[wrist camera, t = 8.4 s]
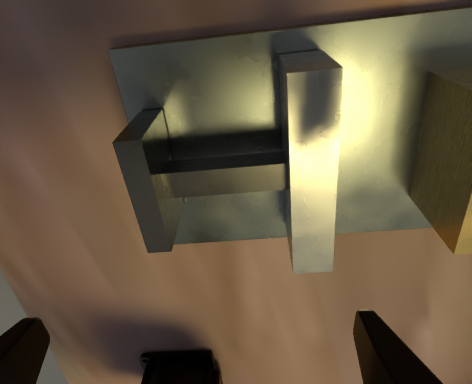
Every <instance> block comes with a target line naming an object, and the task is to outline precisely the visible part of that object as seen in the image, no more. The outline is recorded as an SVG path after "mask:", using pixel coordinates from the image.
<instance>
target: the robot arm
mask: <svg viewBox="0 0 472 384" xmlns="http://www.w3.org/2000/svg"><path fill="white" fill-rule="evenodd" d="M353 335H354V341H355V346H356V350H357V355H358V360H359V365H360V369H361V374H362V379H363V384H443V383H442V382H441V381H440V380H439V379H438V378H437V377H436V376H435V375H434V374H433V373H432V371H431V370H430V369H429V368H428V367H427V366H426V365H425V364H424V363H423V362H422V361H421V360H420V359H419V358H418V357H417V356H416V355H415V354H414V353H413V352H412V351H411V349H410V348H409V347H408V346H407V345H406V344H405V343H404V342H403V341H402V340H401V339H400V338H399V337H398V336H397V335H396V334H395V333H394V332H393V331H392V330H391V329H390V328H389V326H388V325H387V324H386V323H385V322H384V321H383V320H382V319H381V318H380V317H379V316H378V315H377V314H376V313H375V312H374V311H372V310H358V311H357V312H356V316H355V322H354V328H353ZM49 343H50V335H49V333H48V331H47V329H46V328H45V326H44V324H43V322H42V320H41V319H40V318H37V317H33V318H24V319H22V320H20V321H19V322H18V323H17V324H15V325H14V326H13V327H11V328H10V329H9V330H7V331H6V332H5V333H4V334H2V335H1V336H0V384H36V382H37V379H38V376H39V373H40V370H41V367H42V364H43V361H44V358H45V355H46V352H47V349H48V346H49ZM140 363H141V365H142V368H143V370H144V374H143V378H142V382H141V384H223V382H222V378H221V373H220V371H219V370H218V369H216V366H215V362H214V357H213V354H212V353H211V352H209V351H194V352H167V353H144V354H142V355H141V357H140Z"/></svg>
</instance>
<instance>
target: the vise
mask: <svg viewBox="0 0 472 384" xmlns="http://www.w3.org/2000/svg"><path fill="white" fill-rule="evenodd" d="M316 50H323V51H324V52H326V53H327V54H328V55H329V56H330V57H331V58H333V59H334V60H335V61H336V62H337V63H339V64H340V65H341V66H342V67H343V83H342V102H341V121H340V140H339V159H338V178H337V197H336V216H335V234H341V233H356V232H371V231H387V230H402V229H417V228H432V226H431V224H430V223H429V222H428V220H427V219H426V218H425V216H424V215H423V214H422V213H421V211H420V210H419V209H418V207H417V206H416V205H415V203H414V202H413V201H412V200H411V198H410V197H409V193H410V188H411V182H412V176H413V171H414V165H415V160H416V154H417V149H418V143H419V138H420V132H421V127H422V121H423V115H424V110H425V104H426V99H427V93H428V88H429V82H430V77H431V72H435V71H444V70H454V69H463V68H472V5H469V6H460V7H452V8H443V9H435V10H426V11H418V12H410V13H401V14H393V15H384V16H376V17H367V18H359V19H350V20H342V21H333V22H325V23H316V24H308V25H299V26H291V27H282V28H274V29H265V30H257V31H248V32H240V33H231V34H223V35H214V36H206V37H197V38H189V39H180V40H172V41H163V42H155V43H146V44H138V45H129V46H121V47H114V48H112V49H110V50H108V53H109V56H110V60H111V63H112V67H113V70H114V74H115V77H116V81H117V84H118V88H119V91H120V95H121V98H122V102H123V105H124V109H125V112H126V116H127V119H128V123H130V122H131V121H132V119H133V118H134V117H135V116H136V115H137V114H138V113H139V112H141V111H151V110H161V109H162V111H163V115H164V120H165V124H166V129H167V133H168V137H169V142H170V146H171V150H172V155H173V159H174V160H186V159H197V158H209V157H220V156H232V155H243V154H255V153H266V152H278V151H283V149H282V125H281V101H280V77H279V55H280V54H289V53H298V52H307V51H316ZM182 199H183V203H184V210H183V213H182V217H181V220H180V223H179V227H178V230H177V234H176V237H175V240H174V244H188V243H203V242H219V241H234V240H249V239H264V238H280V237H287V231H286V221H285V197H284V190H274V191H262V192H249V193H236V194H223V195H210V196H197V197H184V198H182Z"/></svg>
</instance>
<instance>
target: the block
mask: <svg viewBox="0 0 472 384" xmlns="http://www.w3.org/2000/svg"><path fill="white" fill-rule="evenodd" d="M409 197H410V198H411V200H412V201H413V202H414V203H415V205H416V206H417V207H418V209H419V210H420V211H421V213H422V214H423V215H424V216H425V218H426V219H427V220H428V222H429V223H430V224H431V226H432V227H433V228H434V229H435V231H436V232H437V233H438V235H439V236H440V237H441V239H442V240H443V241H444V242H445V244H446V245H447V246H448V248H449V249H450V250H451V252H452V253H453V254H470V253H472V68H463V69H454V70H444V71H435V72H431V77H430V82H429V88H428V93H427V99H426V104H425V110H424V115H423V121H422V127H421V132H420V138H419V143H418V149H417V154H416V160H415V165H414V171H413V176H412V182H411V188H410V193H409Z"/></svg>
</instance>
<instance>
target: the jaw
mask: <svg viewBox="0 0 472 384" xmlns="http://www.w3.org/2000/svg"><path fill="white" fill-rule="evenodd" d="M279 77H280V101H281V125H282V149H283V151H278V152H266V153H255V154H243V155H232V156H220V157H209V158H197V159H186V160H174V159H173V155H172V150H171V146H170V142H169V137H168V133H167V129H166V124H165V120H164V115H163V111H162V109H161V110H151V111H141V112H139V113H138V114H137V115H136V116H135V117H134V118H133V119H132V121H131V122H130V123H129V124H128V125H127V126H126V127H125V129H124V130H123V131H122V132H121V133H120V134H119V135H118V137H117V138H116V139H115V140H114V141H113V142H112V143H113V146H114V149H115V152H116V155H117V158H118V162H119V165H120V168H121V171H122V174H123V177H124V180H125V183H126V186H127V189H128V193H129V196H130V199H131V202H132V205H133V208H134V211H135V214H136V217H137V220H138V224H139V227H140V230H141V233H142V236H143V239H144V242H145V245H146V248H147V251H148V253H155V252H170V251H172V247H173V244H174V240H175V237H176V234H177V230H178V227H179V223H180V220H181V217H182V213H183V210H184V203H183V199H182V198H184V197H197V196H210V195H223V194H236V193H249V192H262V191H274V190H284V197H285V221H286V231H287V238H288V244H289V251H290V257H291V263H292V270H293V274H296V273H313V272H331V271H333V253H334V235H335V216H336V197H337V178H338V159H339V140H340V121H341V102H342V83H343V67H342V66H341V65H340V64H339V63H337V62H336V61H335V60H334V59H333V58H331V57H330V56H329V55H328V54H327V53H326V52H324V51H323V50H316V51H307V52H298V53H289V54H280V55H279Z"/></svg>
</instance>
